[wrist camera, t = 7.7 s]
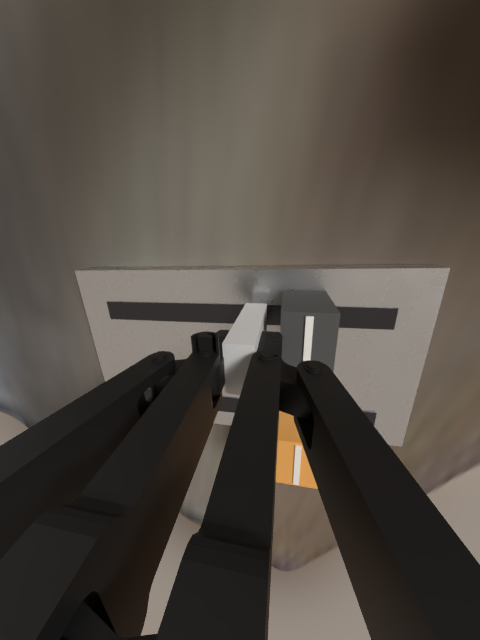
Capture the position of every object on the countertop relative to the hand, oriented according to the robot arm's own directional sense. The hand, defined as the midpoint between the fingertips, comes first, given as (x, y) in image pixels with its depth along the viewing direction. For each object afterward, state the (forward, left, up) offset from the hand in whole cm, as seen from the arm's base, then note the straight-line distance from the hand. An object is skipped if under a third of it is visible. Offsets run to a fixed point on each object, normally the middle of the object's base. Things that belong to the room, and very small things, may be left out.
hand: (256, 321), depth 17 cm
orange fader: (+9, +3, -2) cm, 10 cm away
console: (+4, -2, -4) cm, 6 cm away
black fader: (0, +3, -2) cm, 4 cm away
